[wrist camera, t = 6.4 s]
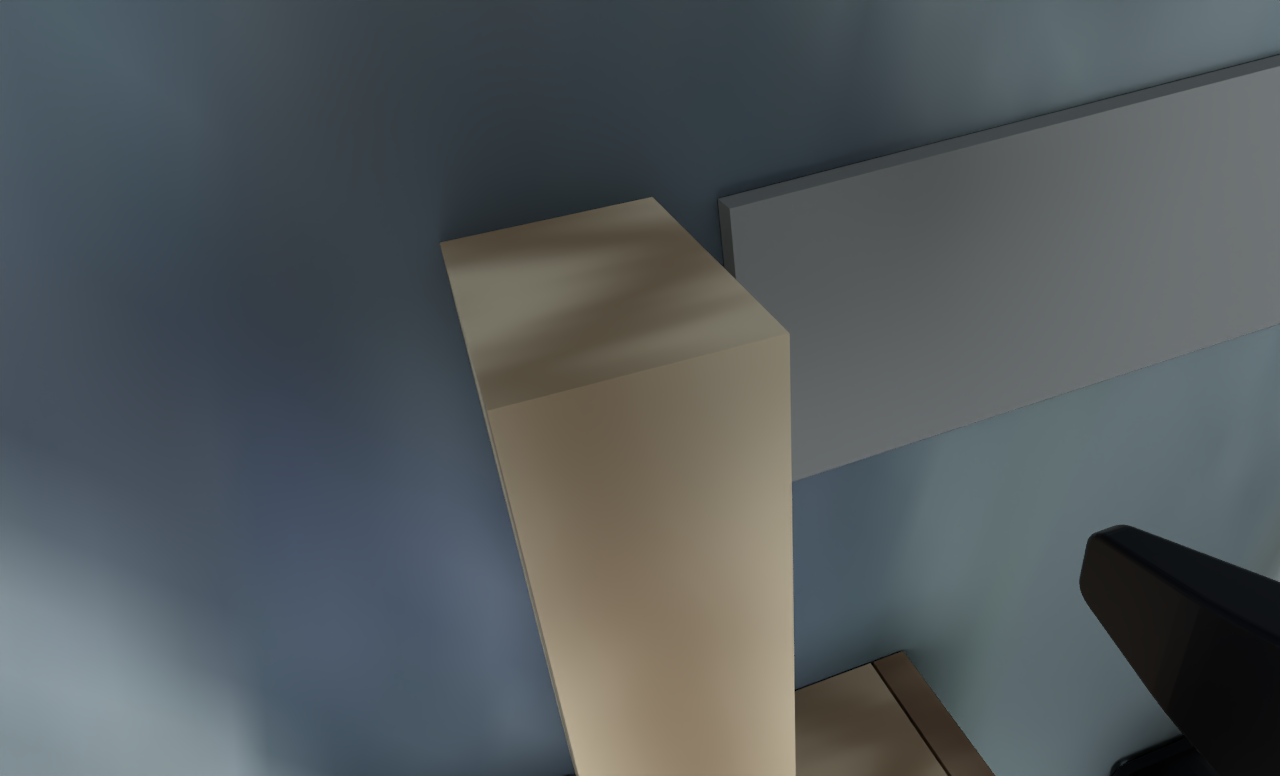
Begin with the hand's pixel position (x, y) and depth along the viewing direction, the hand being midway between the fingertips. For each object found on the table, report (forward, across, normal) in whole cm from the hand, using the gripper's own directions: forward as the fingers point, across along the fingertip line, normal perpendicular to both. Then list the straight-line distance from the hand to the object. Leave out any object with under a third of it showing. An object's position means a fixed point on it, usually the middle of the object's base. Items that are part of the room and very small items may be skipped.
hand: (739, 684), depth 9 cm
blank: (+9, 0, +5) cm, 10 cm away
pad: (+9, -12, +2) cm, 15 cm away
